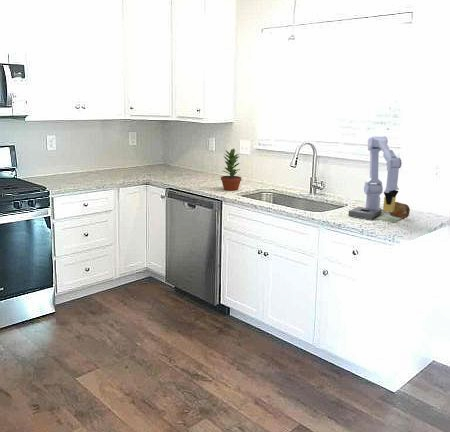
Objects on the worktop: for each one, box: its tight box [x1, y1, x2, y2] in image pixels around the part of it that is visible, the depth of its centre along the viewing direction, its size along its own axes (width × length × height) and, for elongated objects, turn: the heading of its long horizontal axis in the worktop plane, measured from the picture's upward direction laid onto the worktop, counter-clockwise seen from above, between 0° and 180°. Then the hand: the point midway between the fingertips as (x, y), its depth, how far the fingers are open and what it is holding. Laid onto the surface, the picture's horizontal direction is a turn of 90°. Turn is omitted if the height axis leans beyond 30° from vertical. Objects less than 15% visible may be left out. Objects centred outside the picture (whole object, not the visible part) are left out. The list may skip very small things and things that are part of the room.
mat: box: [375, 214, 402, 223], centre depth 290 cm, size 11×11×1 cm
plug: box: [382, 196, 397, 213], centre depth 289 cm, size 4×5×8 cm
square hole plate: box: [348, 206, 382, 221], centre depth 297 cm, size 14×14×3 cm
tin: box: [388, 201, 411, 220], centre depth 295 cm, size 15×3×8 cm, turn 24°
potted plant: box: [220, 147, 242, 192], centre depth 362 cm, size 15×15×30 cm
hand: (389, 203), depth 288 cm, fingers closed on plug, 4 cm apart
